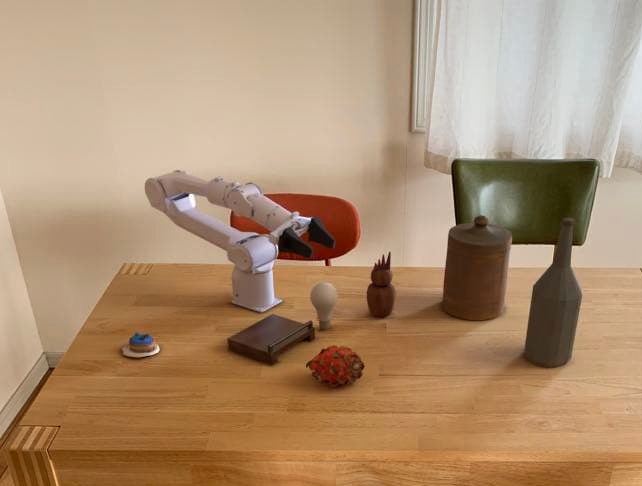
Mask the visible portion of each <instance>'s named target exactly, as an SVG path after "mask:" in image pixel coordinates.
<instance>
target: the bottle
mask: <svg viewBox="0 0 642 486" xmlns="http://www.w3.org/2000/svg"><path fill="white" fill-rule="evenodd" d="M575 223H576V221H575V219H574V218H571V217H564V218H563V219H562V220H561V229H560V232H559V236H558V239H557V244H556V248H555V251H554V255H553V260H552V263H551V264H550V265H549V267H548V268H546V270H545V271H544V273H543V274H541V276H539V278H538V279H537V281H535V283H534V284H533V285H532V290H531V299H530V306H529V313H528V319H527V328H526V334H525V342H524V356H525V358H526V359H527V360H528V361H529V362H531V363H532V364H534V365H535V366H540V367H543V368H558V367H561V366H564V365H566V364H568V362H569V361H570V360H571V359H572V355H573V350H574V343H575V340H576V339H575V338H576V333H577V327H578V322H579V316H580V310H581V305H582V299H583V291H582V288H581V285H580V283H579V280H578V279H577V277H576V274H575V272H574V270H573V268H572V251H573V235H574V234H573V233H574V225H575Z"/></svg>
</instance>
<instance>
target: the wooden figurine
mask: <svg viewBox="0 0 642 486" xmlns="http://www.w3.org/2000/svg"><path fill="white" fill-rule="evenodd" d="M391 253H392V252H391V251H389V252H388V255H387V257H386V259H385V254H384V253H382V257H381V259H380V258H378V260H377V262H374V266H373V269H372V270H371V272H370V280H371V283H370V284H369V285H368V286H367V289H366V304H367V308H368V310H369V312H370V314H371V315H373V316H374V317H378V318H379V317H380V318H385V317H389V316H390V315H392V313H393V311H394V308H395V304H396V298H397V290H396V289H397V288H396V287H395V285H394V284H393V283H392V281H393V271H392V270H391V261H392V259H391V257H392V254H391Z"/></svg>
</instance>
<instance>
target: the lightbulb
mask: <svg viewBox="0 0 642 486" xmlns="http://www.w3.org/2000/svg"><path fill="white" fill-rule="evenodd" d="M309 299H310V302H311V304H312V306H313V308H314V309H315V311H316V315H317V319H318V325H319V328H320V329H322V330H324V331H326V330H327V331H328V329H330V328H331V327H332V325H331V323H332V318H333V311H334V309H335V307H336V305H337V303H338V300H339V294H338V291H337V289H336V287H335V286H334V285H332V284H331V283H329V282H325V281H324V282H319V283H317V284H315V285H314V286H313V287H312V288H311V291H310V295H309Z"/></svg>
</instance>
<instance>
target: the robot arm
mask: <svg viewBox="0 0 642 486" xmlns="http://www.w3.org/2000/svg"><path fill="white" fill-rule="evenodd" d="M144 194H145V196H146V198H147V200H148V202H149V204H150V206H151V208H154V209H155V210H158V211H160V212H162V213H163V214H164V215H165V216H166V217H167V218H168V219H169V220H170V221H171V222H172V223H173V224H174V225H176V227H179V228H181V229H183V230H185V231H186V232H188V233H190V234H192V235H194V236H196V237H198V238H200V239H202V240H204V241H206V242H208V243H210V244H212V245H214V246H216V247H218V248H220V249H222V250H223V251H225V252H226V255H227V260H228V261H229V262H231V263H232V264H234V265H235V266H234V267H233V269H232V273H231V286H232V287H231V288H232V295H233V300H231V304H234V305H236V306H239V307H243V308H245V309H248V310H252V311H255V312H258V313H264V312H266V311H267V310H269V309H271V308H273V307H275V306H277V305H279V304H281V303H282V302H283V299H281V298H279V297H276V296H275V289H274V287H275V286H274V275H273V266H275V261H276V259H277V258H278V255H279V252H280V253H282V254H284V253H285V254H293V255H298V256H301V257H304V258H306V259H312V258H313V256H314V251H315V249H314V247H312V246H311V245H310V244H309V243H307V242H312V243H316V244H320V245H321V246H323V247H325V248H327V249H331V250H334V249H335V246H336V242H337V240H336V238H334V237H333V235H332V234H331V233H330V232H329V231H328V230H327V228H326V226H325V224H323V221H322V219H321V218H320V217H319V216H318V215H315V216H311V217H307V216H301V215H300V212H298V211H293V212H291V211H289V210H287V209H285V208H284V207H282V206H281V205H280V204H278V203H276V202H274V201H273V200H271V199H270V198H268V197H266V195H264V194H263V190H262V189H261V188H260V187H259V185H257V184H256V183H254V182H252V181H249V182H247V183H245V184H241V183H240V182H239V181H237V180H236V181H229V180H225V179H224V176H216V177H214V178H211V179H210V180H206V179H203V178H200V177H197V176H194V175H191V174H189V173H188V171H187V170H180V169H176V170H173V171H172V172H168V173H165V174H161V175H158V176H155V177H148V178H147V179H146V180H145V182H144ZM195 196H199V197H204V198H206V199H207V201H208V202H209V203H210V204H211V205H213V206H218V207H221V208H225V209H228V210H231V211H232V212H233V215H234V216H236V217H239V218H241V217H245V218H247V219H251V220H252V221H254V222H256V223H257V224H258V225H260V226H262V227H264V228H265V229H266V230H267V231H269V234H266V233H262V234H260V233H257V232H254V231H253V232H252V231H240V230H238V229H237V228H235V227H232V226H231V225H228V224H226V223H225V222H222V221H220V220H219V219H217V218H214V217H213V216H210V215H209V214H206V213H204V212H203V211H200V210H198V209H196V208H195V207H196V205H197V204H196V200H195ZM306 232H307V234H308V238H307V242H306V241H305V240H303V239H302V238H301V236H302V235H303V234H304V233H306Z"/></svg>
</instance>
